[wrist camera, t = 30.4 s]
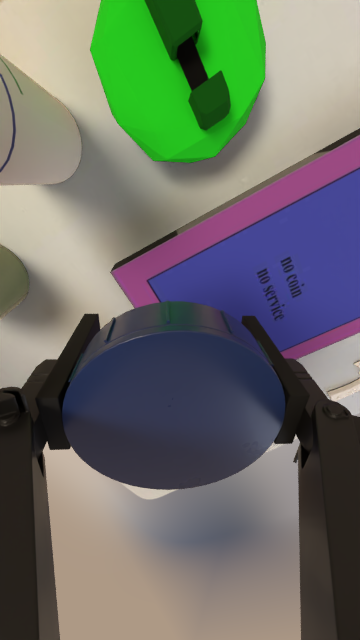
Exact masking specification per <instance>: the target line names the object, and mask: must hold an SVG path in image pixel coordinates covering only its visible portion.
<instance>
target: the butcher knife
mask: <svg viewBox="0 0 360 640" xmlns="http://www.w3.org/2000/svg"><path fill="white" fill-rule="evenodd" d="M354 365H356V366H357V367H359V368H360V361H358V362H356V363H354ZM358 374H359V375H360V371H359V373H358ZM358 391H360V379H358V380H356V381H354V382H352V383H350V384H348V385H346V386H343V387H341V388H338V389H335V390H332V391H330V392H327V393H328V395H329V397H330V399H331V400H332V401H337V400H339V399H342V398H344V397H346V396H349V395H351V394H353V393H355V392H358Z"/></svg>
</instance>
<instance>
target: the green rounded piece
mask: <svg viewBox="0 0 360 640" xmlns="http://www.w3.org/2000/svg"><path fill="white" fill-rule="evenodd" d="M90 51H91V54H92V57H93V60H94V63H95V66H96V69H97V71H98V74H99V77H100V80H101V83H102V86H103V89H104V92H105V95H106V98H107V101H108V104H109V107H110V109H111V112H112V115H113V116H114V118H115V119H116V121H117V123H118V124H119V125H120V126H121V127H122V128H123V130H124V131H125V132H126V133H127V134H128V135H129V136H130V137H131V138H132V139H133V140H134V141H135V142H136V143H137V144H138V145H139V146H140V147H141V148H142V149H143V150H144V152H145V153H146V154H147V155H148V156H149V157H150V158H151V159H152V160H153V161H168V162H186V163H192V162H196V161H200V160H204V159H208V158H212V157H215V156H216V155H217V154H218V153H219V152H220V151H221V150H222V149H223V148H224V146H225V145H226V144H227V143H228V142H229V141H230V140H231V139H232V138H233V137H234V136H235V135H236V134H237V132H238V131H239V130H240V129H241V128H242V127H243V126H244V125H245V124H246V121H247V119H248V117H249V114H250V112H251V110H252V108H253V105H254V103H255V101H256V98H257V96H258V94H259V91H260V89H261V87H262V84H263V82H264V80H265V53H266V42H265V37H264V33H263V28H262V24H261V19H260V15H259V10H258V6H257V1H256V0H101V3H100V7H99V12H98V16H97V21H96V25H95V30H94V34H93V39H92V43H91V48H90Z"/></svg>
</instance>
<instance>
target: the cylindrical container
mask: <svg viewBox="0 0 360 640" xmlns="http://www.w3.org/2000/svg"><path fill="white" fill-rule="evenodd" d="M81 155H82V143H81V136H80V133H79V129H78V127H77V124H76V122H75V120H74V118H73V117H72V115H71V114H70V112H69V111H68V109H67V108H66V107H65V106H64V105H63V104H62V103H61V102H60V101H59V100H57V99H56V98H55V97H54V96H52V95H51V94H50V93H49V92H47V91H46V90H45V89H43V88H42V87H41V86H40V85H38V84H37V83H36V82H35V81H33V80H32V79H31V78H30V77H28V76H27V75H26V74H25V73H23V72H22V71H21V70H20V69H18V68H17V67H16V66H15V65H13V64H12V63H11V62H10V61H8V60H7V59H6V58H5V57H3V56H2V55H1V54H0V185H37V184H57V183H61V182H63V181H65V180H67V179H68V178H69V177H71V176H72V175H73V173H74V172H75V171H76V170H77V167H78V165H79V163H80V159H81Z"/></svg>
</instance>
